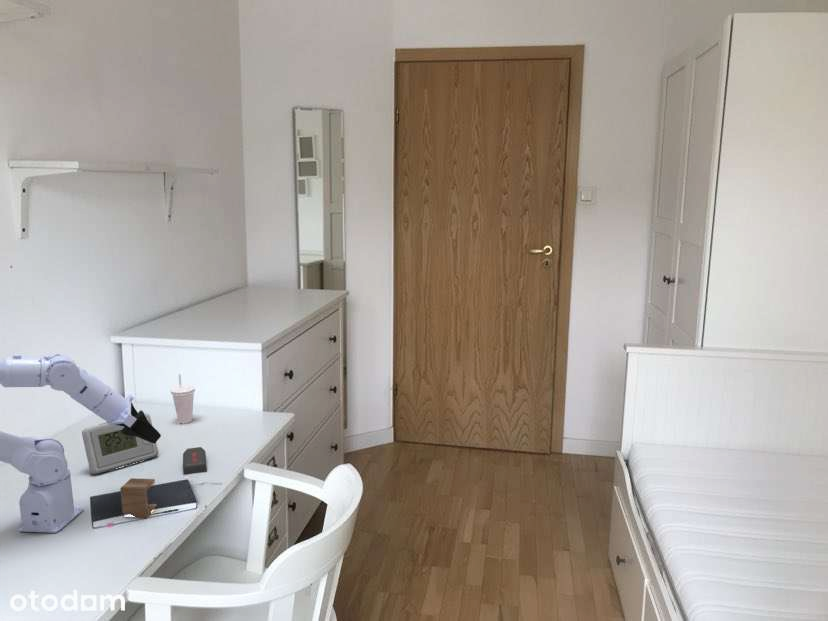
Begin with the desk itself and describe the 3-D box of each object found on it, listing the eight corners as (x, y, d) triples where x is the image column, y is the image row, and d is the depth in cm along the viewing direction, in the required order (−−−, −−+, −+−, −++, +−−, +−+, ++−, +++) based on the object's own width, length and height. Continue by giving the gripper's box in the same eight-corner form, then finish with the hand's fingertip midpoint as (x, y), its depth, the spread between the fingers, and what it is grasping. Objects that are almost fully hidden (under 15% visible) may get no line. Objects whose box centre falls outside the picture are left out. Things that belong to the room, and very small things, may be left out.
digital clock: (88, 478, 150) (83, 434, 148) (83, 464, 158) (78, 422, 156) (162, 461, 159) (158, 420, 157) (154, 449, 167) (150, 409, 165)
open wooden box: (147, 518, 132) (144, 488, 130) (123, 517, 132) (120, 487, 131) (157, 507, 136) (154, 478, 135) (133, 507, 136) (131, 478, 135)
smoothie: (173, 419, 188) (170, 372, 186) (197, 416, 190) (193, 370, 188) (172, 426, 182) (168, 378, 180) (197, 424, 184) (193, 376, 182)
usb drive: (183, 476, 152) (182, 465, 151) (183, 456, 163) (182, 446, 162) (206, 473, 153) (206, 462, 153) (205, 453, 164) (204, 443, 164)
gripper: (121, 388, 128) (175, 427, 135) (106, 377, 140) (156, 412, 147) (96, 418, 126) (151, 455, 133) (82, 404, 138) (134, 439, 144)
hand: (152, 435), depth 139 cm, fingers open, 7 cm apart
